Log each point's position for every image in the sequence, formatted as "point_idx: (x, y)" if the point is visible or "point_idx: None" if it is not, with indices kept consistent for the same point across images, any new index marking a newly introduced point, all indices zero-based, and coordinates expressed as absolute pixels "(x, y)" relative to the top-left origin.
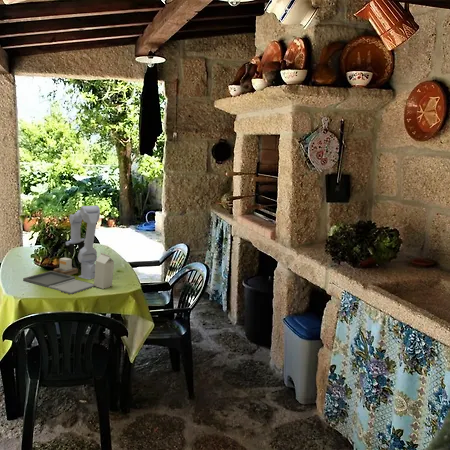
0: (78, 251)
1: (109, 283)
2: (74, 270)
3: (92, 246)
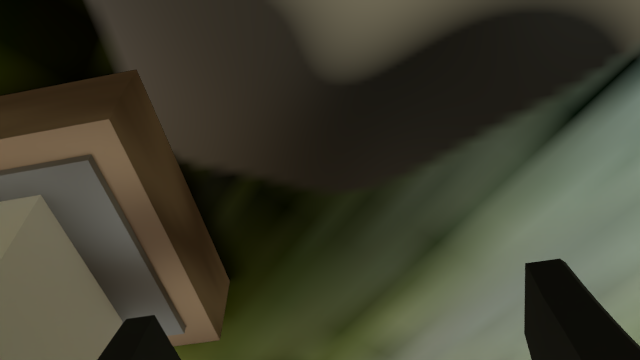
0: (545, 307)
1: None
2: None
3: None
